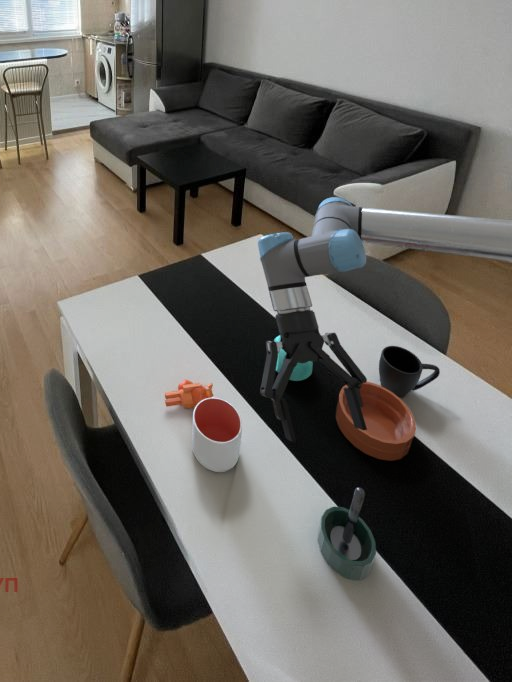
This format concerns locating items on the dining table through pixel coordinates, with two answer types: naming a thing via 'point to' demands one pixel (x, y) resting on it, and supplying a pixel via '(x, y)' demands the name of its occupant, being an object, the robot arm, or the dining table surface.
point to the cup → (216, 434)
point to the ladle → (349, 530)
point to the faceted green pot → (333, 557)
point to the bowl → (378, 423)
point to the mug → (403, 371)
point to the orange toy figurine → (188, 394)
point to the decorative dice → (299, 371)
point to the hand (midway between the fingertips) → (326, 434)
